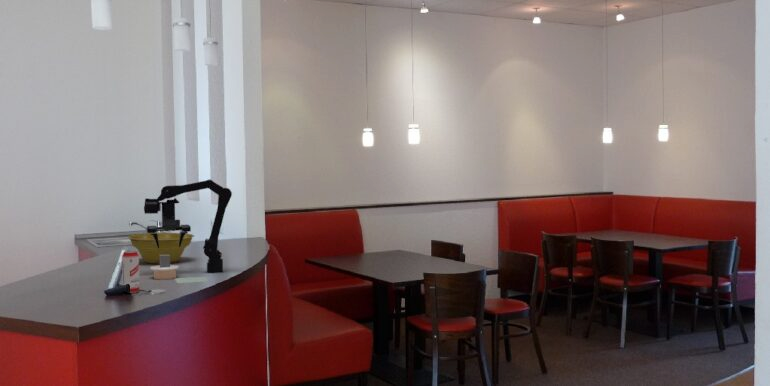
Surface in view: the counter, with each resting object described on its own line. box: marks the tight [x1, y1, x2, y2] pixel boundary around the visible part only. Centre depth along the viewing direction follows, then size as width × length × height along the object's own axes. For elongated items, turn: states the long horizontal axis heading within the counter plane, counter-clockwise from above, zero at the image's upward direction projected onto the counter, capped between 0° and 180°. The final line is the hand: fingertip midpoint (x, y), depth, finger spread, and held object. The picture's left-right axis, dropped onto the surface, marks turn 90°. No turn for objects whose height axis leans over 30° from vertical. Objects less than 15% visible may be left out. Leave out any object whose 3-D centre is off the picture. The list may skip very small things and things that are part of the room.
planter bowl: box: [127, 232, 195, 264], centre depth 369 cm, size 32×32×13 cm
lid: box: [149, 255, 180, 271], centre depth 316 cm, size 12×12×6 cm
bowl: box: [153, 269, 177, 280], centre depth 316 cm, size 9×9×4 cm
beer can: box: [121, 250, 140, 294], centre depth 283 cm, size 6×6×16 cm
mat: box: [174, 276, 210, 284], centre depth 309 cm, size 13×13×1 cm
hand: (169, 247), depth 329 cm, fingers open, 9 cm apart
